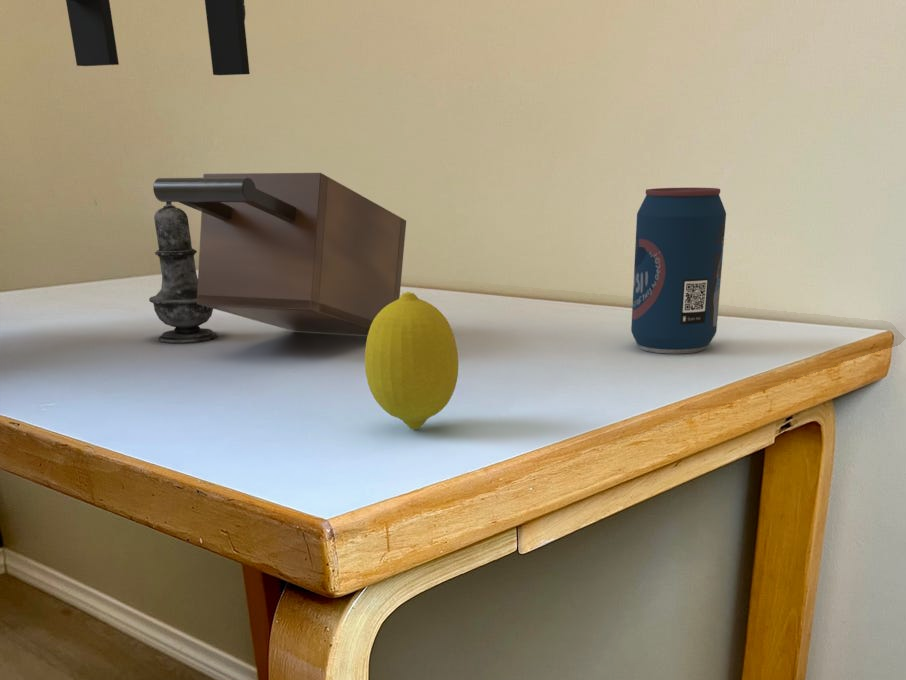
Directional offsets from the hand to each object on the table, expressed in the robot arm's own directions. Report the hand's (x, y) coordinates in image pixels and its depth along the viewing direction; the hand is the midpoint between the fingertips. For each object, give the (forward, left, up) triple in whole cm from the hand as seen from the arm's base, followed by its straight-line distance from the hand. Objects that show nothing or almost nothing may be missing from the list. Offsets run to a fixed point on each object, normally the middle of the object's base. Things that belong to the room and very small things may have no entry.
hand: (170, 71), depth 68 cm
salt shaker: (-13, +13, -21) cm, 27 cm away
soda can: (+30, +22, -21) cm, 43 cm away
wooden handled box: (0, +9, -17) cm, 19 cm away
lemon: (+22, -9, -21) cm, 32 cm away
